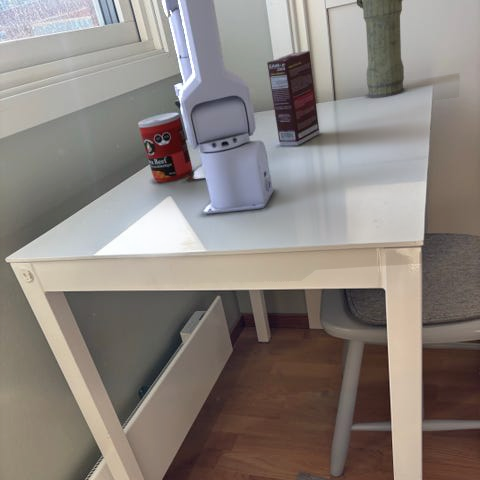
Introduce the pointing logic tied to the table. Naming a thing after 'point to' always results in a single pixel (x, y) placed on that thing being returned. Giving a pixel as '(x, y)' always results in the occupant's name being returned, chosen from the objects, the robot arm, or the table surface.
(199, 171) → the white flat piece
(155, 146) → the canned food
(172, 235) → the table surface
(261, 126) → the table surface
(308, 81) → the supplement box
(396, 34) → the thermos
